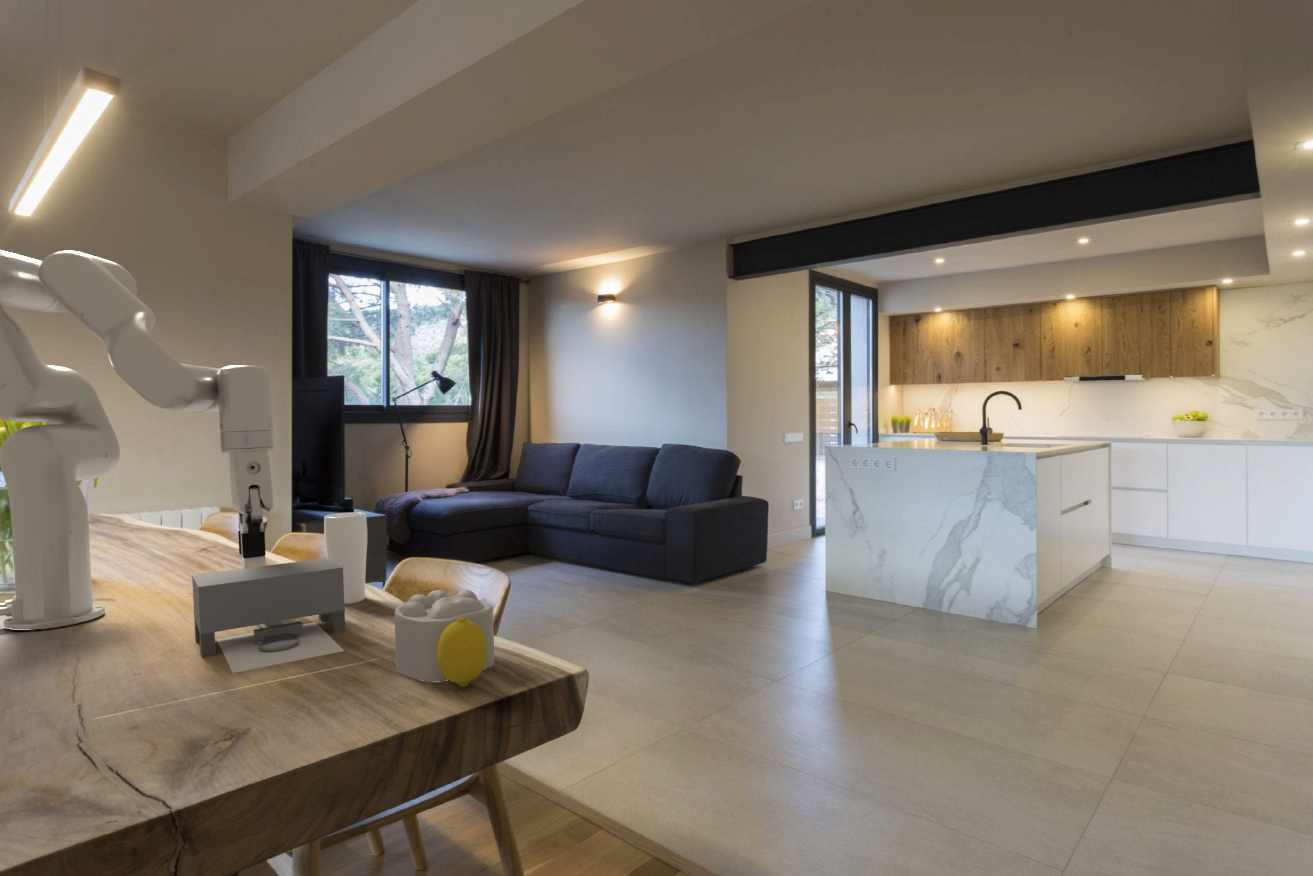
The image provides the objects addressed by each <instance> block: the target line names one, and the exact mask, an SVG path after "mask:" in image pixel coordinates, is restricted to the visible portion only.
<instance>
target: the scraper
mask: <svg viewBox="0 0 1313 876" xmlns="http://www.w3.org/2000/svg"><path fill="white" fill-rule="evenodd" d="M263 524H264V522H263ZM264 525H265V524H264ZM239 531H240V534H241V555H240V556H241V569H244V568H252V567H260V566H267V564H266V563H267V562H266V555H265V556H262V557H254V558H243V554H242V533H244V530H243V523H240V530H239ZM302 624H303V623H302V622H301V621H296V622H295V621H294V622H290V623H285V624H283V623H282V621H278V622H272V623H266V624H260V625H259V626H260V627H261V628H256V629H253V633H254V642H255V643H258V641H259V640H261V639H263V638H266V637H270V636H274V635H281V634H296V635H302V634H303V628H302Z"/></svg>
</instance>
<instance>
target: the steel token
mask: <svg viewBox="0 0 1313 876" xmlns="http://www.w3.org/2000/svg"><path fill="white" fill-rule="evenodd" d="M298 645H299V636H298V635H296V634H281V635H274V636H270V637H266V638H263V639H261V640H259V641H258V651H260V652H279V651H285V650H289V649H292V648H294V647H296V646H298Z"/></svg>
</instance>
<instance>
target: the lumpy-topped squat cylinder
mask: <svg viewBox="0 0 1313 876" xmlns="http://www.w3.org/2000/svg"><path fill="white" fill-rule="evenodd" d="M393 616H394V617H393V618H394V638H395V639H394V641H395V645H394V646H395V670H396V671H397V673H399V672H400V673H399V674H401V673H402V674H401V675H403V674H404V675H403V676H405V675H406V676H405V677H407V676H409V677H408V678H410V677H412V678H411V679H413V678H416V679H420V680H424V681H445V680H447V678H446V677H445V676H444V675H443V674H442V672H441V670H440V668H439V665H438V660H437V648H438V643H439V639H440V636H441V634H442V632H443V631H444V630H445V628H446V627H447V626H449V625H450V624H451V623H453V622H455V621H457V619H458V618H465V619H466V620H468V621H471V622H473V623H475V624H476V625H478V626H479V627H480V628H481V630H482V632H483V634H484V636H485V640H486V644H487V660H486V664H485V667H484V668H487V667H490V666H491V665H493V664H494V662H495V659H496V658H495V637H494V635H495V634H494V629H495V628H494V609H493V606H492V605H491V604H490V603H488V602H486V601H482V600H479V599H478V596H477V594H476V593H474V592H473V591H472V590H471V589H464V590H461V591H459V592H458V593H456V594H454V596H449V594H448V593H447V592H445V591H444V590H443V589H435V590H432V591H430V592H429V593H428V594H427V595H423V594H420V593H419V594H417V593H416V594H414V595H412V596H411V597H410V598H409V599H408V601H405V602H403V603H400V604H399V605H397V607H395V610H394V615H393ZM494 665H495V664H494ZM494 665H493V666H494ZM490 668H491V667H490ZM416 679H415V680H416Z"/></svg>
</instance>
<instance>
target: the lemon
mask: <svg viewBox="0 0 1313 876" xmlns="http://www.w3.org/2000/svg"><path fill="white" fill-rule="evenodd" d="M437 660H438V665H439V668H440V670H441V672H442V674H443V675H444V676H445V677H446V678H447V679H448V680H450V681H449V682H452V683H456V684H457V685H458V686H459V687H460V688H466V687H467V686H468V685H469V683H470V682H472V681H474V680H476V678H478V677H479V676H480V675H481V673H482V672H483V671H484V670H483V669H484V667H485V664H486V660H487V644H486V640H485V636H484V634H483V632H482V630H481V628H480V627H479V626H478V625H476V624H475V623H473V622H471V621H468V620H466V619H465V618H458V619H457V621H455V622H453V623H451V624H450V625H449V626H447V627H446V628H445V630H444V631H443V632H442V634H441V636H440V639H439V643H438V648H437ZM465 686H466V687H465Z"/></svg>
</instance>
